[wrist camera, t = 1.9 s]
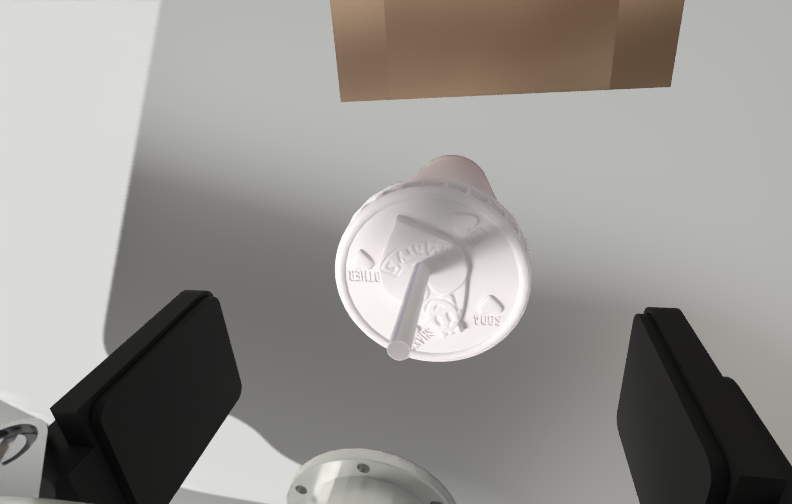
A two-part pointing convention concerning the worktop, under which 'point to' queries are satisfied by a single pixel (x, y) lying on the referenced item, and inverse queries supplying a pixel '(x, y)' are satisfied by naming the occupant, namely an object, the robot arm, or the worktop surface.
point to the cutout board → (501, 46)
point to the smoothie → (435, 265)
